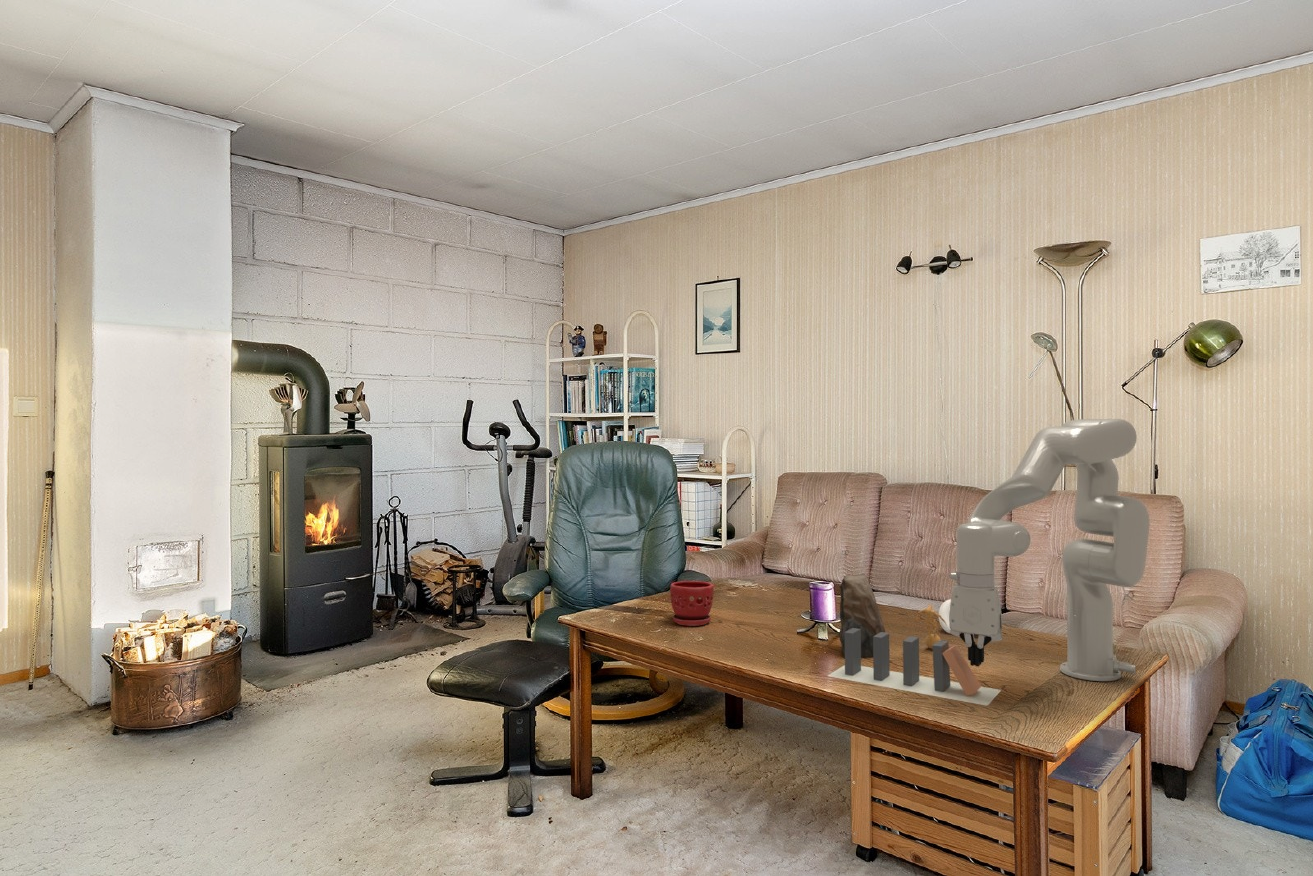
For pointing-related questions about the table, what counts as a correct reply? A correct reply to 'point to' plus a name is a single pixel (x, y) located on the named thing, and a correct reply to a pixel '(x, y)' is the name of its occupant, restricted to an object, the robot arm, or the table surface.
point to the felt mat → (919, 686)
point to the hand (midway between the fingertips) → (976, 664)
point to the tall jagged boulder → (859, 612)
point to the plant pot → (691, 602)
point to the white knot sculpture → (945, 615)
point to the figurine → (929, 613)
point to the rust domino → (961, 670)
